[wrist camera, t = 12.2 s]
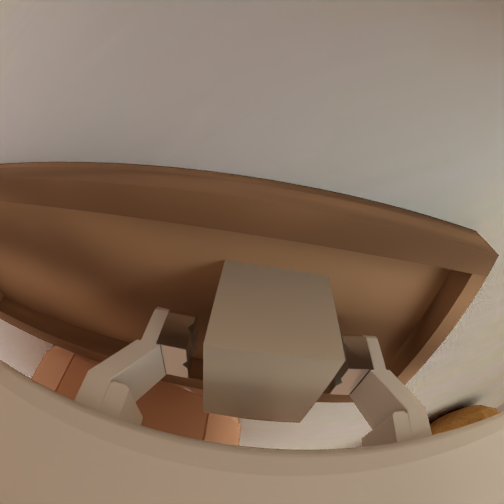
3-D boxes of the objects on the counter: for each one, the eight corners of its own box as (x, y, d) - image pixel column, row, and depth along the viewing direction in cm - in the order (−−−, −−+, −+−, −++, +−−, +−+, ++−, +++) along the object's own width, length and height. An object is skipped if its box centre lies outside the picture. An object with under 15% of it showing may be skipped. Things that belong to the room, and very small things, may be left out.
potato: (369, 438, 21) (375, 505, 14) (494, 372, 15) (518, 444, 8) (401, 446, 24) (407, 497, 18) (498, 394, 18) (514, 447, 12)
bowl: (22, 311, 14) (-15, 367, 9) (254, 374, 14) (246, 467, 10) (88, 410, 23) (73, 448, 18) (231, 448, 23) (225, 493, 19)
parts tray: (-35, 167, 8) (-56, 179, 7) (475, 231, 8) (498, 254, 7) (6, 298, 14) (-7, 314, 12) (383, 375, 14) (388, 400, 12)
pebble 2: (224, 259, 9) (203, 344, 6) (328, 275, 9) (345, 360, 6) (217, 340, 12) (203, 412, 9) (297, 350, 12) (299, 422, 9)
